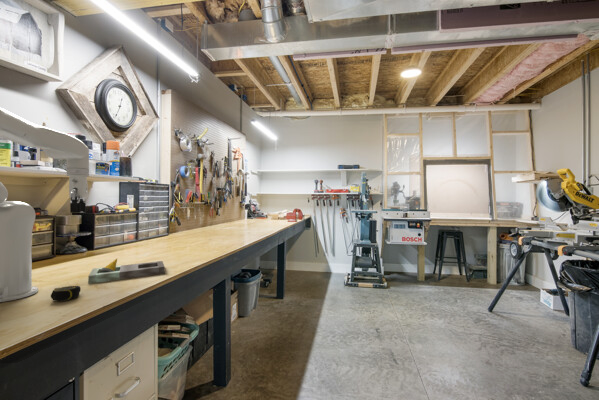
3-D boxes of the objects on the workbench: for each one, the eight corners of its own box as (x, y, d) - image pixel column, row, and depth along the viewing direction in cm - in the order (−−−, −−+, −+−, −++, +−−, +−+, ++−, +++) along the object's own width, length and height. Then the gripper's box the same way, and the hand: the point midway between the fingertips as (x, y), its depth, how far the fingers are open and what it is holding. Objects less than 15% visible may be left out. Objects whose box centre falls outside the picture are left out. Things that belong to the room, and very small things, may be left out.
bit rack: (162, 267, 124) (162, 260, 124) (164, 273, 114) (164, 266, 114) (92, 275, 111) (92, 268, 111) (88, 283, 100) (88, 275, 100)
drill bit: (95, 280, 106) (110, 259, 114) (109, 284, 108) (123, 263, 115) (95, 274, 103) (110, 253, 110) (110, 279, 105) (124, 257, 112)
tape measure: (81, 294, 90) (81, 283, 90) (77, 300, 84) (77, 289, 84) (54, 298, 86) (54, 286, 86) (48, 305, 81) (48, 293, 81)
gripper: (84, 171, 109) (84, 212, 109) (92, 174, 124) (93, 210, 124) (60, 170, 105) (60, 213, 106) (72, 174, 120) (72, 211, 121)
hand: (78, 212), depth 115 cm, fingers open, 9 cm apart
